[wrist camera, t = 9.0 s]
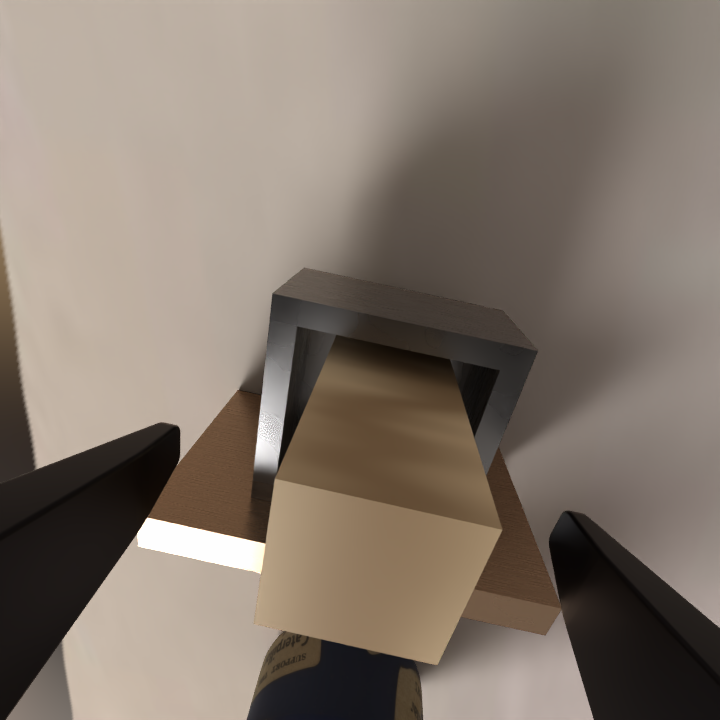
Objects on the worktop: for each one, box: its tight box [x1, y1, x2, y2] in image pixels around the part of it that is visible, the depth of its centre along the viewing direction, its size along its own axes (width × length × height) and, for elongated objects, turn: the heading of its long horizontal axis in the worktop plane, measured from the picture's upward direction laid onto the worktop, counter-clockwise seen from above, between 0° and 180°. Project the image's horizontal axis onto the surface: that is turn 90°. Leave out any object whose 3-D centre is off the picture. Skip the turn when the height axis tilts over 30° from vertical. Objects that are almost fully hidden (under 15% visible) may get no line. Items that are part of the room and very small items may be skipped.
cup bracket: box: [138, 268, 561, 635], centre depth 14 cm, size 12×13×8 cm
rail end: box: [254, 335, 502, 665], centre depth 10 cm, size 4×4×7 cm
